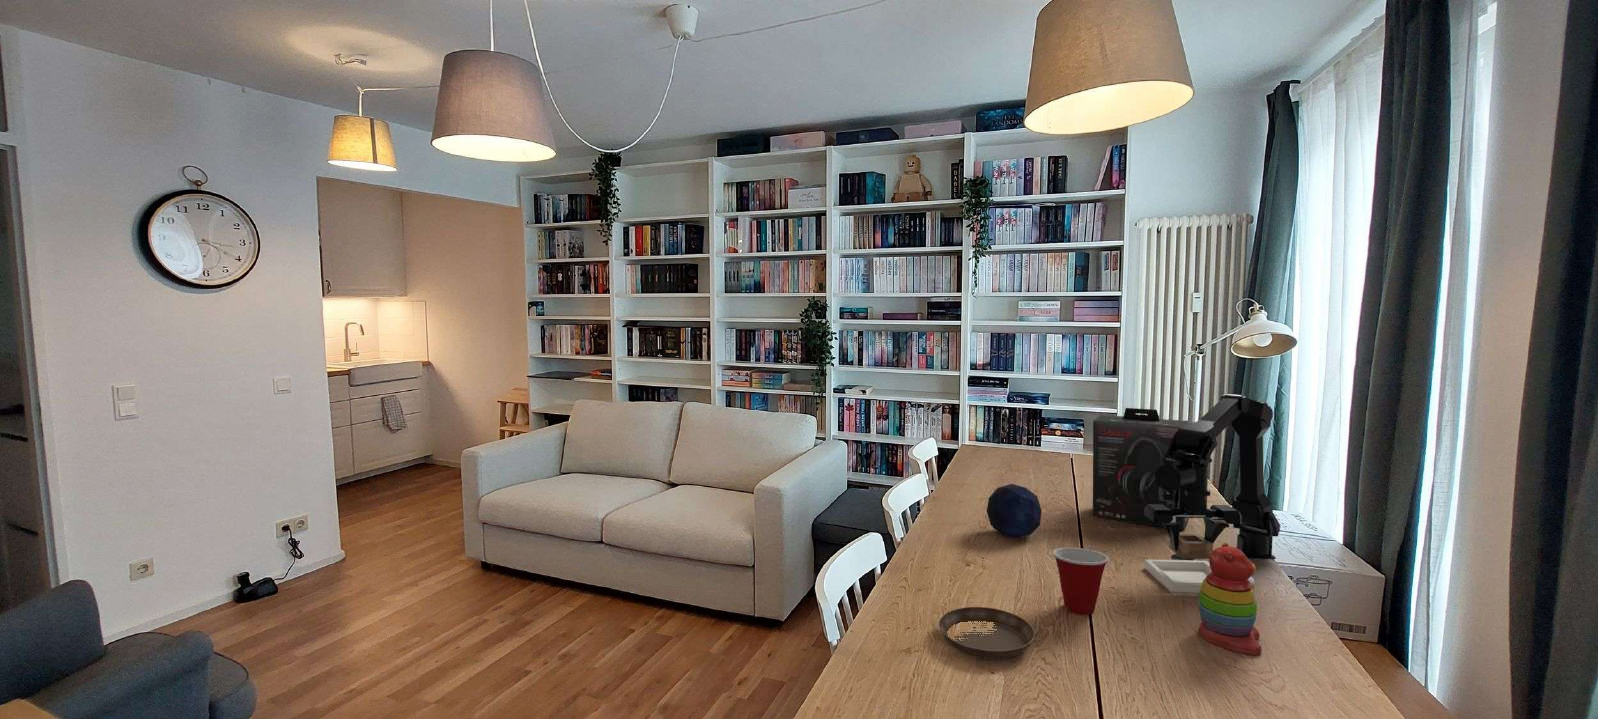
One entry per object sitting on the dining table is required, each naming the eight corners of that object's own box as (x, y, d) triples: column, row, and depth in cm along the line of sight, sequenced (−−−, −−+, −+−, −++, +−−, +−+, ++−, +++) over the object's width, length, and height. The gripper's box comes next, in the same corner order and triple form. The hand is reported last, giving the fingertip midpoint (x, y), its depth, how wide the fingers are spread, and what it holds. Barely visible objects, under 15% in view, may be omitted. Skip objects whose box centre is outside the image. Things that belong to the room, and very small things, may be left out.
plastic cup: (1104, 600, 143) (1105, 546, 142) (1110, 623, 133) (1111, 565, 132) (1051, 594, 146) (1051, 541, 145) (1052, 616, 136) (1053, 559, 135)
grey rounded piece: (1198, 555, 167) (1199, 536, 167) (1215, 567, 159) (1215, 547, 159) (1165, 554, 168) (1165, 535, 168) (1180, 566, 160) (1180, 547, 160)
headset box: (1089, 516, 199) (1092, 407, 196) (1099, 506, 209) (1101, 402, 206) (1184, 532, 184) (1187, 414, 181) (1189, 520, 194) (1192, 408, 191)
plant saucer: (931, 619, 136) (931, 605, 136) (1017, 619, 135) (1017, 604, 135) (949, 667, 118) (949, 650, 118) (1048, 666, 118) (1048, 650, 118)
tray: (1206, 570, 158) (1206, 560, 157) (1239, 596, 144) (1239, 585, 144) (1144, 569, 159) (1145, 559, 159) (1171, 594, 145) (1171, 583, 145)
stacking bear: (1262, 658, 119) (1266, 562, 117) (1196, 643, 124) (1199, 551, 123) (1258, 632, 128) (1262, 543, 127) (1197, 620, 133) (1200, 534, 132)
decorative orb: (1058, 515, 184) (1025, 469, 188) (1046, 530, 171) (1011, 481, 175) (1016, 538, 191) (985, 493, 195) (1002, 555, 178) (969, 506, 182)
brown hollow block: (1212, 558, 147) (1213, 543, 147) (1182, 558, 148) (1182, 543, 148) (1195, 546, 155) (1196, 531, 155) (1167, 545, 156) (1167, 531, 155)
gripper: (1217, 474, 157) (1215, 538, 158) (1135, 474, 158) (1133, 537, 160) (1244, 487, 146) (1241, 556, 147) (1155, 486, 147) (1153, 554, 149)
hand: (1190, 550), depth 151 cm, fingers closed on brown hollow block, 6 cm apart
